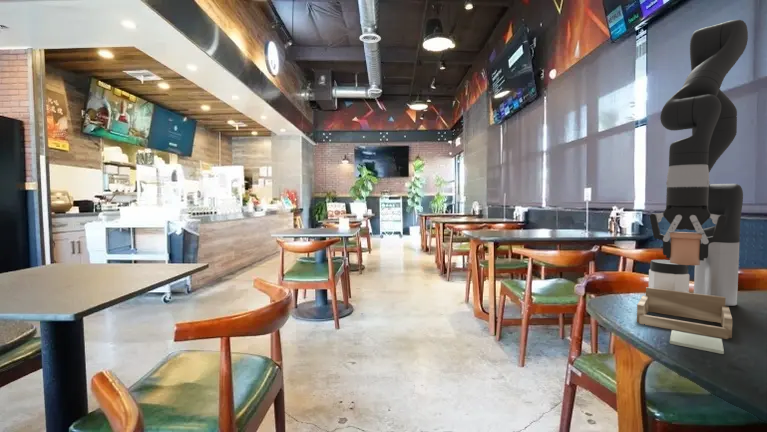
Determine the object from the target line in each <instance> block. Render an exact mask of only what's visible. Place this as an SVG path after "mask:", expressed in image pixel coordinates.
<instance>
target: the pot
mask: <svg viewBox="0 0 767 432" xmlns="http://www.w3.org/2000/svg"><path fill="white" fill-rule="evenodd" d="M670 237H671V238H670V242H671V243H670V258H669V260H670V263H674V264H681V265H688V266H695V265H700V244H701V240H700V239H702V234H697V232H690V231H687V232H686V231H674V233H670Z"/></svg>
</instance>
